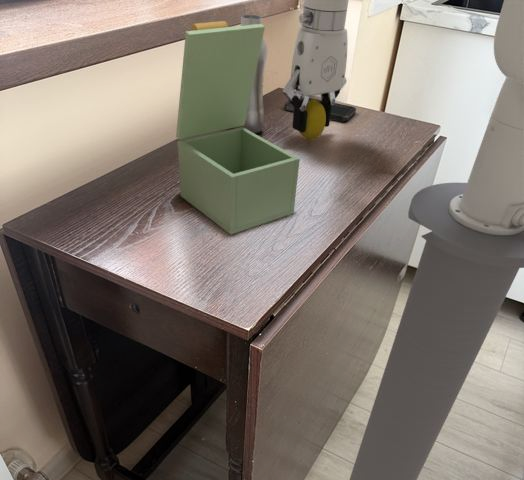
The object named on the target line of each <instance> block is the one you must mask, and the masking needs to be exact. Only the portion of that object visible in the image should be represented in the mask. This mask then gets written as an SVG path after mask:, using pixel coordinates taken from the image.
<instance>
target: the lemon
mask: <svg viewBox="0 0 524 480" xmlns="http://www.w3.org/2000/svg"><path fill="white" fill-rule="evenodd" d="M316 99H317V98H314V99H312V100H311V101H308V103H307V106H306V109H305V110H306V111H307V112H308V113H307V122H306V130H305V132H303V133H301V132H299V134H300V135H301V136H302V137H303V138H304V139H306V141H307V142H312V141H313V140H315V139H317V138H319V137H320V136H321V135H322V134H323V132H324V130H325V128H326V127H325V123H326V113H325V109H324V107H323V105H322V104H321V103H320V102H318V101H316Z"/></svg>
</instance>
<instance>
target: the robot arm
mask: <svg viewBox="0 0 524 480" xmlns="http://www.w3.org/2000/svg"><path fill="white" fill-rule="evenodd" d="M348 7H349V0H303V5H302V13H301V14H299V17H298V22H299V23H300V24H301V25H300V26H301V27H300V28H299V29H298V33H297V35H296V39H295V45H294V49H293V55H292V60H291V61H292V62H291V68H290V69H291V70H290V78H289V79H288V81H287V83H286V84H285V85H284V88H283V89H282V93H283V95H284V96H285V98H287V101H288V100H289V101H290V103H291V104H292V107H294V111H293V117H292V128H293V129H294V130H296V131H297V132H299V133H300V132H301V133H303V132H305V130H306V122H307V113H308V112H307V111H306V110H305V109H306V106H307V103H308V100H309V98H311V97H313V96H318V95H320V100H322V101H319V102H320V103H321V104H322V105H323V107H324V109H325V113H326V123H325V127H324V128H327V127H329V126H330V122H331V120H330V116H331V109H332V105H334V103H336V99H337V97H338V96H339V94H340V92H341V91H342V89H343V88H344V87H345V85H346V84H347V78H346V71H347V61H348V45H349V43H348V42H349V41H348V30H347V28H346V21H347V20H346V19H347V14H348ZM498 16H499V17H498V20H497V24H496V28H495V31H494V38H493V57H494V61H495V63H496V66H497V68H498V69H499V71H500V72H501V73H502V75H504V77H505V79H504V82H503V84H502V86H501V88H500V90H499V93H498V96H497V98H496V101H495V103H494V106H493V110H492V112H491V115H490V116H489V120H488V122H487V126H486V128H485V131H484V134H483V137H482V139H481V142H480V145H479V148H478V151H477V154H476V156H475V159H474V162H473V166H472V168H471V170H470V174H469V175H468V176H469V177H468V179H467V182H466V183H467V185H466V188H465V191H464V193H463V194H462V195H458V196H456V197H454V198H453V199H452V200H451V202H450V205H449V208H448V209H449V213H450V215H451V216H452V217H453V218H454V219H455V220H456V221H457V222H458V223H460V224H462V225H463V226H465V227H467V228H469V229H472V230H475V231H478V232H481V233H485V234H490V235H499V236H508V235H514V234H518V233H520V232H522V231H524V0H503V2H502V6H501V10H500V13H499V15H498ZM301 96H303V97H302V100H300V97H301Z"/></svg>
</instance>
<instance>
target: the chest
mask: <svg viewBox="0 0 524 480" xmlns="http://www.w3.org/2000/svg"><path fill="white" fill-rule="evenodd" d="M177 154H178V155H177V156H178V172H179V173H178V175H179V190H180V197H181V198H182V199H184V200H185V201H186V202H187V203H189V204H190V205H192V206H193V207H194V208H196V210H198V211H199V212H201V213H202V214H204V215H205V216H206V217H207V218H209V219H210V220H211V221H212V222H214V223H215V224H217V226H219V227H220V228H222V229H223V230H224V231H225V232H227V233H228V234H229V235H234V234H237V233H240V232H244V231H247V230H248V229H252V228H256V227H258V226H261V225H264V224H267V223H270V222H272V221H276V220H278V219H282V218H284V217H287V216H290V215H294V213H295V204H296V196H297V195H296V194H297V187H298V186H297V185H298V177H299V169H300V168H299V167H300V158H299V157H297V156H296V155H294V154H292V153H291V152H289V151H287V150H285V149H283V148H282V147H279V146H277V145H276V144H274V143H272V142H270V141H269V140H267V139H265V138H263V137H262V136H260V135H257V133H256V134H254V133H252V132H251V131H249V130H247V129H245V128H243V127H241V128H236V129H234V128H231V129H226V130H222V131H217V132H213V133H208V134H203V135H199V136H194V137H190V138H185V139H181V140H178V141H177Z"/></svg>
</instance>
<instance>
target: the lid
mask: <svg viewBox="0 0 524 480" xmlns="http://www.w3.org/2000/svg"><path fill="white" fill-rule="evenodd" d="M265 29H266V26H265V25H263V23H262V24H255V25H245V26H240V25H236V26H229V25H228V23H227V22H226V21H225V20H221V21H219V20H218V21H209V22H199V23H192V24H191V26H190V30H187V31H185V37H184V46H183V47H184V48H183V59H182V68H181V69H182V70H181V80H180V88H179V89H180V90H179V91H180V92H179V100H178V101H179V102H178V111H177V112H178V113H177V124H176V132H175V133H176V134H175V137H176V138H177V139H178V140H185V139H190V138H194V137H199V136H203V135H208V134H213V133H217V132H222V131H226V130H231V129H234V128H235V127H239V126H244V124H245V119H246V114H247V110H248V105H249V100H250V95H251V91H252V86H253V81H254V76H255V72H256V67H257V62H258V58H259V53H260V48H261V43H262V39H264V34H265Z"/></svg>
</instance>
